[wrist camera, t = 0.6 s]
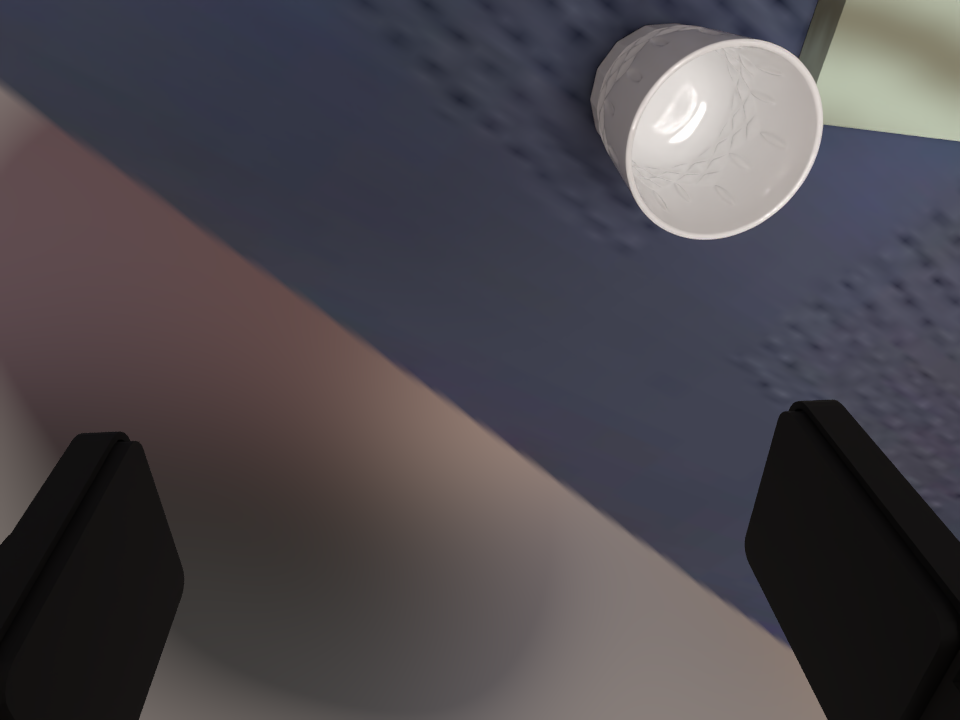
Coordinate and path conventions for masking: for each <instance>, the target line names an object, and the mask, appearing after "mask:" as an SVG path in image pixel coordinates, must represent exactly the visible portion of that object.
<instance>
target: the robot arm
mask: <svg viewBox="0 0 960 720" xmlns="http://www.w3.org/2000/svg"><path fill="white" fill-rule="evenodd" d="M745 552H746V556H747V560H748V562H749V564H750V566H751V568H752V570H753V572H754V574H755V576H756V578H757V580H758V582H759V584H760V586H761V588H762V590H763V592H764V594H765V596H766V598H767V600H768V602H769V604H770V606H771V608H772V610H773V612H774V614H775V616H776V618H777V620H778V622H779V624H780V626H781V628H782V630H783V632H784V634H785V636H786V638H787V640H788V642H789V644H790V646H791V648H792V650H793V652H794V654H795V656H796V658H797V660H798V661H799V664H800V665H801V668H802V669H803V672H804V673H805V676H806V678H807V679H808V682H809V684H810V685H811V688H812V690H813V692H814V693H815V695H816V697H817V699H818V701H819V703H820V705H821V707H822V709H823V711H824V713H825V715H826V717H827V719H828V720H960V542H959V541H958V540H957V538H956V537H955V536H954V535H953V534H952V533H951V531H950V530H949V529H948V528H947V527H946V526H945V524H944V523H943V522H942V521H941V520H940V519H939V517H938V516H937V515H936V514H935V513H934V511H933V510H932V509H931V508H930V507H929V506H928V504H927V503H926V502H925V501H924V500H923V499H922V497H921V496H920V495H919V494H918V493H917V492H916V490H915V489H914V488H913V487H912V486H911V485H910V483H909V482H908V481H907V480H906V479H905V478H904V476H903V475H902V474H901V473H900V472H899V471H898V469H897V468H896V467H895V466H894V465H893V463H892V462H891V461H890V460H889V459H888V458H887V456H886V455H885V454H884V453H883V452H882V451H881V449H880V448H879V447H878V446H877V445H876V444H875V442H874V441H873V440H872V439H871V438H870V437H869V435H868V434H867V433H866V432H865V431H864V430H863V428H862V427H861V426H860V425H859V424H858V422H857V421H856V420H855V419H854V418H853V417H852V415H851V414H850V413H849V412H848V411H847V410H846V408H845V407H844V406H843V405H842V404H841V403H840V402H838V401H836V400H814V401H797V402H795V403H793V404H792V406H791V407H790V409H789V411H785V412H782V413H781V414H780V416H779V418H778V421H777V425H776V428H775V432H774V436H773V439H772V443H771V447H770V450H769V454H768V457H767V461H766V465H765V468H764V472H763V475H762V479H761V483H760V486H759V490H758V493H757V497H756V501H755V504H754V508H753V512H752V515H751V519H750V522H749V526H748V530H747V533H746V537H745ZM183 587H184V572H183V568H182V565H181V562H180V559H179V556H178V553H177V550H176V547H175V544H174V541H173V537H172V534H171V531H170V528H169V526H168V523H167V519H166V516H165V513H164V510H163V507H162V504H161V501H160V498H159V495H158V492H157V489H156V486H155V483H154V480H153V477H152V474H151V471H150V468H149V465H148V462H147V459H146V456H145V453H144V450H143V447H142V445H141V444H140V443H139V442H137V441H130V439H129V437H128V436H127V435H126V434H125V433H123V432H101V433H81V434H79V435H77V436H76V437H75V438H74V439H73V440H72V442H71V443H70V445H69V446H68V448H67V449H66V451H65V452H64V454H63V455H62V457H61V458H60V460H59V461H58V463H57V464H56V466H55V467H54V469H53V471H52V472H51V474H50V475H49V477H48V478H47V480H46V481H45V483H44V484H43V486H42V487H41V489H40V490H39V492H38V493H37V495H36V496H35V498H34V500H33V501H32V502H31V504H30V505H29V507H28V509H27V510H26V512H25V513H24V515H23V516H22V518H21V519H20V521H19V522H18V524H17V525H16V527H15V528H14V530H13V531H12V533H11V534H10V535H9V536H8V537H7V538H6V539H5V540H4V541H3V542H2V544H1V545H0V720H139V717H140V714H141V711H142V709H143V705H144V703H145V700H146V697H147V694H148V691H149V688H150V686H151V682H152V680H153V677H154V674H155V671H156V668H157V665H158V663H159V660H160V657H161V654H162V651H163V648H164V645H165V643H166V640H167V637H168V634H169V631H170V628H171V625H172V622H173V620H174V617H175V614H176V611H177V608H178V605H179V602H180V600H181V597H182V593H183Z"/></svg>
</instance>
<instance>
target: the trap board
mask: <svg viewBox="0 0 960 720" xmlns="http://www.w3.org/2000/svg"><path fill="white" fill-rule="evenodd" d="M799 60H800V61H801V62H802V63H803V64H804V65H805V67H806V68H807V69H808V71H809V72H810V74H811V75H812V77H813V79H814V81H815V83H816V85H817V88H818V90H819V94H820V97H821V102H822V108H823V124H825V125H833V126H841V127H849V128H857V129H865V130H874V131H882V132H890V133H898V134H906V135H914V136H922V137H930V138H938V139H946V140H954V141H960V0H819V1H818V3H817V6H816V9H815V12H814V15H813V18H812V21H811V24H810V27H809V30H808V33H807V36H806V39H805V42H804V45H803V48H802V51H801V54H800V56H799Z"/></svg>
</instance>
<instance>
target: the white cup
mask: <svg viewBox="0 0 960 720" xmlns="http://www.w3.org/2000/svg"><path fill="white" fill-rule="evenodd" d="M590 102H591V107H592V112H593V117H594V122H595V128H596V130H597V132H598V133H599V135H600V136H601V138H602V141H603V144H604V146H605V149H606V150H607V152H608V154H609V156H610V158H611V160H612V162H613V164H614V166H615V167H616V169H617V171H618V172H619V174H620V176H621V177H622V179H623V180H624V182H625V184H626V185H627V187H628V189H629V190H630V192H631V194H632V195H633V197H634V199H635V201H636V202H637V204H638V205H639V207H640V208H641V210H642V211H643V212H644V213H645V215H646V216H647V217H648V218H649V219H650V220H651V221H653V222H654V223H655V224H656V225H658V226H659V227H661V228H663V229H664V230H666V231H668V232H670V233H673V234H675V235H678V236H681V237H685V238H691V239H701V240H708V239H719V238H724V237H729V236H733V235H736V234H739V233H742V232H744V231H746V230H749V229H751V228H753V227H755V226H757V225H758V224H760V223H762V222H763V221H765V220H766V219H768V218H769V217H771V216H772V215H773V214H775V213H776V212H777V211H778V210H779V209H781V208H782V207H783V206H784V205H785V204H786V203H787V202H788V201H789V200H790V199H791V198H792V196H793V195H794V194H795V193H796V192H797V190H798V189H799V188H800V186H801V185H802V183H803V182H804V180H805V179H806V177H807V175H808V173H809V172H810V170H811V168H812V165H813V163H814V161H815V158H816V156H817V153H818V150H819V146H820V142H821V137H822V130H823V108H822V102H821V97H820V94H819V90H818V88H817V85H816V83H815V81H814V79H813V77H812V75H811V74H810V72H809V71H808V69H807V68H806V67H805V65H804V64H803V63H802V62H801V61H800V60H799V59H798V58H797V57H796V56H794V55H793V54H792V53H790V52H789V51H787V50H786V49H784V48H782V47H780V46H778V45H775V44H773V43H770V42H766V41H762V40H758V39H753V38H749V37H744V36H740V35H736V34H732V33H728V32H724V31H720V30H716V29H709V28H704V27H699V26H690V25H681V24H678V23H670V24H657V25H645V26H643V27H641V28H640V29H638V30H636V31H635V32H633V33H631V34H630V35H628V36H626V37H624V38H623V39H621V40H619V41H618V42H617V43H616V44H615V45H614V47H613V48H612V49H611V51H610V52H609V53H608V55H607V56H606V58H605V59H604V60H603V62H602V63H601V64H600V66H599V67H598V69H597V72H596V76H595V81H594V85H593V89H592V93H591V98H590Z"/></svg>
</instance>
